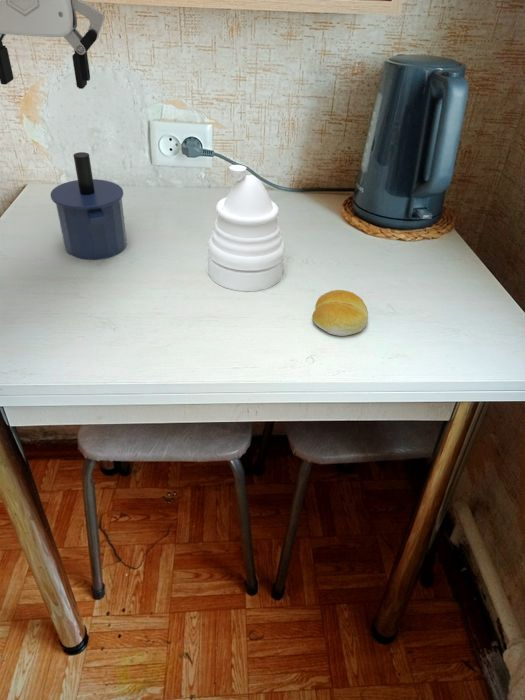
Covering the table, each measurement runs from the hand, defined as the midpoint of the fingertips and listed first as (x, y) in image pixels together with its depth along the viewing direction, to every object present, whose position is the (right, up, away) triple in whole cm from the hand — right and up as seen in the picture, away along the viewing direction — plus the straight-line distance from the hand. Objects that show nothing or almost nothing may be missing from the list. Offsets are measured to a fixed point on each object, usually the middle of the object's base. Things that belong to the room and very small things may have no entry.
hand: (45, 84), depth 68 cm
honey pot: (+26, -22, +20) cm, 40 cm away
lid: (0, -9, +18) cm, 20 cm away
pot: (-1, -16, +24) cm, 29 cm away
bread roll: (+41, -31, +11) cm, 52 cm away
